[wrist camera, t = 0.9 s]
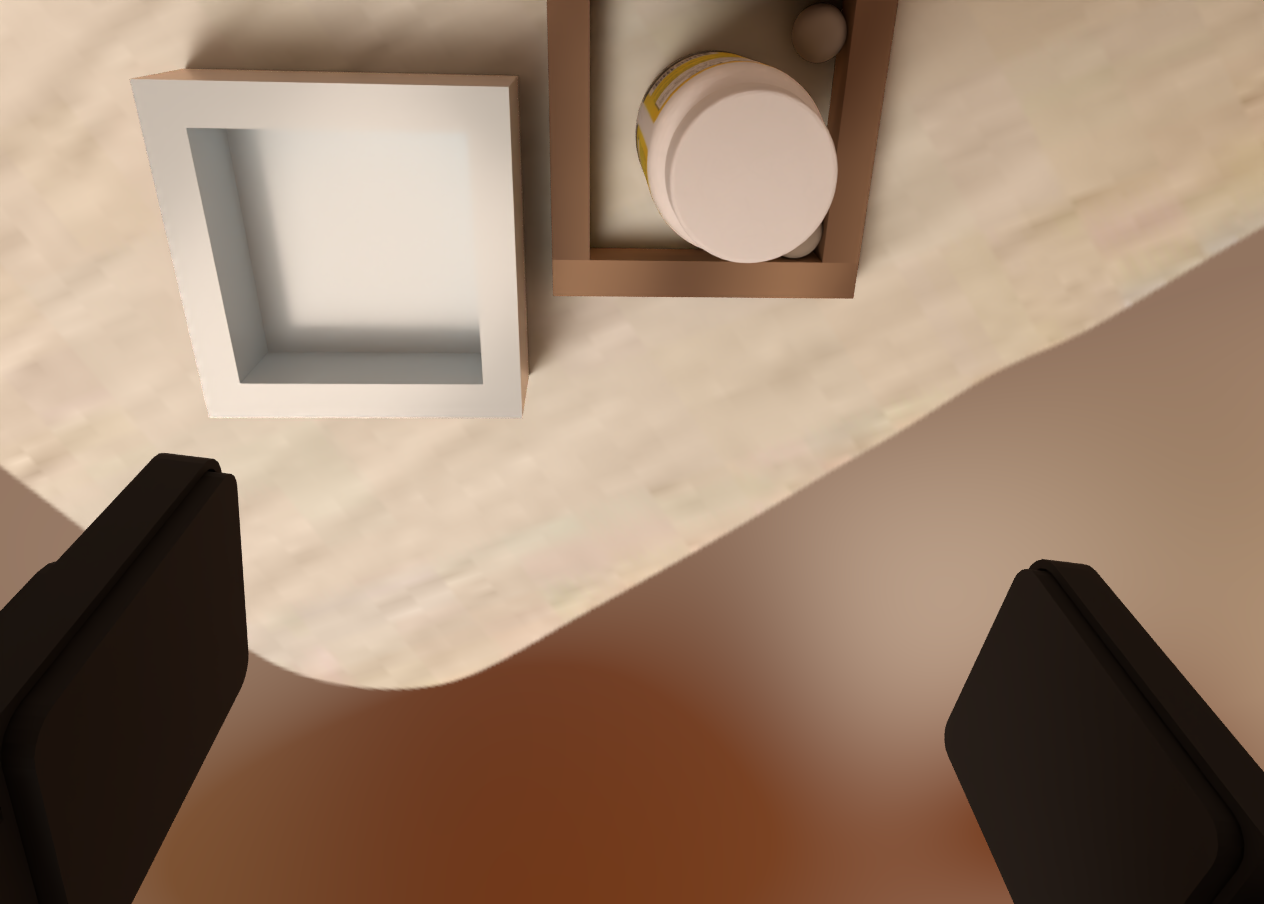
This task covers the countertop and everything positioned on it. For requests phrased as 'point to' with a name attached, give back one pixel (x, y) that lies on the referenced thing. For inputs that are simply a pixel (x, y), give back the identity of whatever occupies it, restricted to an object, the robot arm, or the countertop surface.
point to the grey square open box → (344, 239)
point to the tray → (694, 272)
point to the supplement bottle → (735, 156)
